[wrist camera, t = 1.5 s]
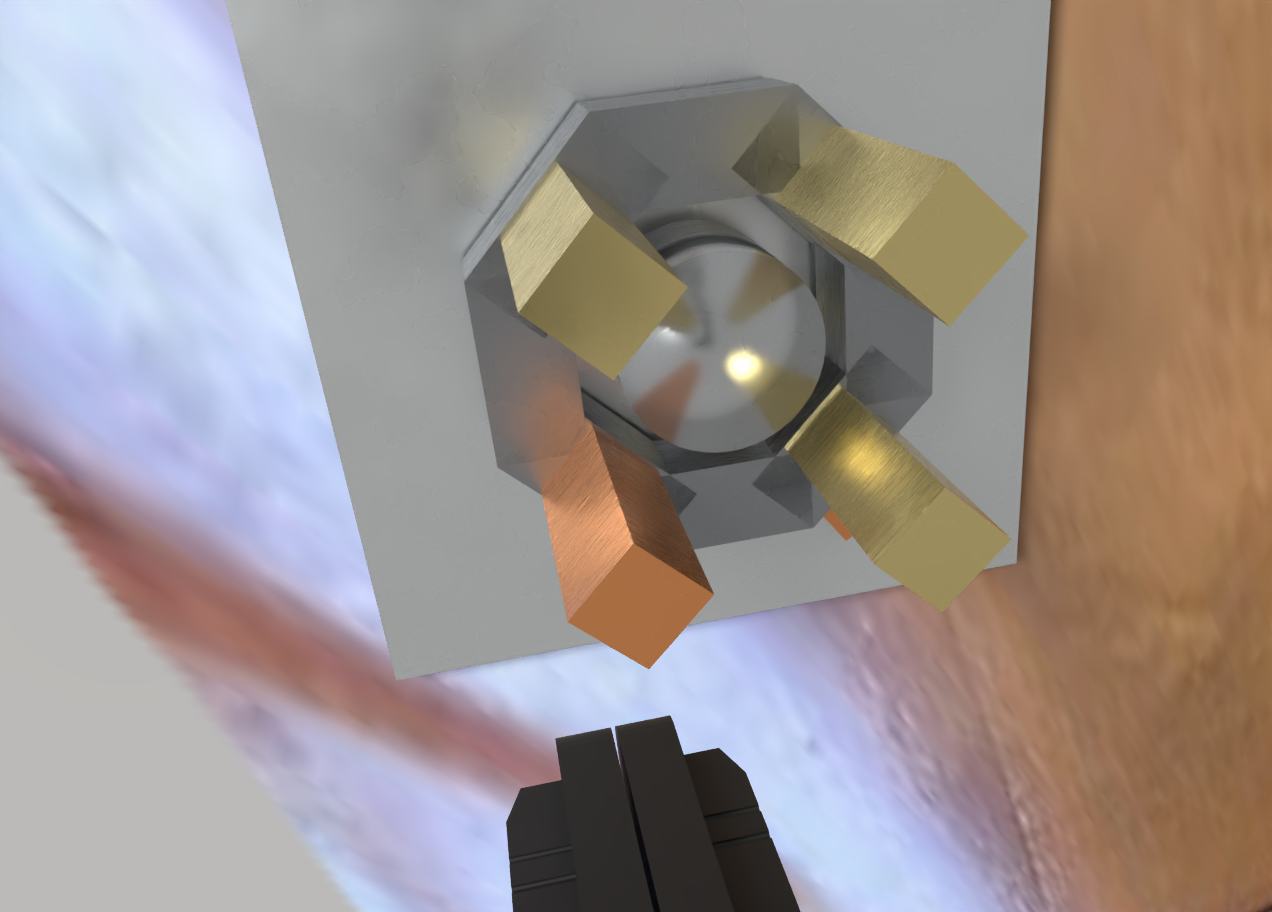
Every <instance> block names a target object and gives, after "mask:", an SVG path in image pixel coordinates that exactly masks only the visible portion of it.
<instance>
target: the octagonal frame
mask: <svg viewBox="0 0 1272 912" xmlns="http://www.w3.org/2000/svg"><path fill="white" fill-rule="evenodd" d="M755 195H756V196H757V197H758V198H759V199H760V200H762V201H763V202H764V203H765V204H766V205H767V206H769V207H770V208H771V209H772V210H773V211H774V212H776V213H777V214H778V215H779V216H780V217H781V218H783V219H784V220H785V221H786V222H787V223H788V224H790V225H791V226H792V227H793V228H794V229H796V230H797V231H798V232H799V233H800V234H801V235H803V236H804V237H805V238H806V239H807V240H808V241H810V242H811V243H812V244H813V245H814V246H815V276H816V301H817V303H818V306H819V309H820V311H821V314H822V318H823V322H824V326H825V337H826V346H825V357H824V363H823V367H822V371H821V374H820V377H819V380H818V382H817V384H816V387H815V389H814V391H813V393H812V394H811V396H810V398H809V399H808V401H807V402H806V404H805V405H804V406H803V408H802V409H801V410H800V412H799V413H798V414H797V415H796V416H795V417H794V418H793V419H792V420H791V421H790V422H789V423H788V424H787V425H785V426H784V427H783V428H782V429H781V430H779V431H778V432H776V433H775V434H773V435H772V436H770V437H769V438H767V439H765V440H763V441H761V442H759V443H757V444H754V445H751V446H749V447H746V448H743V449H738V450H734V451H728V452H719V453H713V452H699V451H692V450H689V449H685V448H681V447H679V446H676V445H674V444H672V443H669V442H668V441H666V440H659V441H652V440H651V439H649V438H648V437H647V436H645V435H644V434H642V433H641V432H639V431H638V430H636V429H635V428H634V427H632V426H631V425H629V424H628V423H626V422H625V421H623V420H622V419H621V418H619V417H618V416H616V415H615V414H613V413H612V412H610V411H609V410H608V409H606V408H605V407H603V406H602V405H600V404H599V403H597V402H596V401H594V400H593V399H592V398H590V397H589V396H587V395H586V394H584V393H583V392H581V389H580V381H579V374H578V367H577V359H576V354H577V355H578V356H580V357H581V358H583V359H584V360H585V361H587V362H588V363H590V364H591V365H593V366H594V367H595V368H597V369H598V370H600V371H601V372H602V373H604V374H605V375H607V376H608V377H609V378H611V379H612V380H615V378H616V377H617V376H618V375H619V373H620V372H621V371H622V370H623V368H624V367H625V366H626V365H627V363H628V362H629V361H630V359H631V358H632V357H633V356H634V354H635V353H636V352H637V351H638V349H639V348H640V347H641V346H642V344H643V343H644V342H645V341H646V339H647V338H648V337H649V336H650V334H651V333H652V332H653V331H654V329H655V328H656V327H657V326H658V324H659V323H660V322H661V321H662V319H663V318H664V317H665V316H666V314H667V313H668V312H669V311H670V309H671V308H672V307H673V306H674V304H675V303H676V302H677V301H678V299H679V298H680V297H681V296H682V294H683V293H684V292H685V291H686V289H687V288H688V286H687V285H686V284H685V283H684V282H683V281H682V279H681V278H680V277H679V276H678V275H677V274H676V272H675V271H674V270H673V269H672V268H671V267H670V265H669V264H668V263H667V262H666V261H665V260H664V258H663V257H662V256H661V255H660V254H659V253H658V251H657V250H656V249H655V248H654V247H653V246H652V244H651V243H650V242H649V241H648V240H647V239H646V237H645V236H644V235H643V234H642V233H641V232H640V230H639V229H638V228H637V227H636V226H635V225H634V223H635V221H636V220H637V219H638V217H639V216H640V215H641V213H642V212H643V211H650V210H657V209H664V208H671V207H678V206H685V205H692V204H699V203H706V202H713V201H720V200H727V199H734V198H741V197H748V196H755ZM1028 237H1029V235H1028V234H1027V233H1026V232H1025V231H1024V230H1023V229H1022V228H1021V227H1020V226H1019V225H1018V224H1017V223H1016V222H1015V221H1014V220H1013V219H1012V218H1011V217H1010V216H1009V215H1008V214H1007V213H1006V212H1005V211H1004V210H1003V209H1001V208H1000V207H999V206H998V205H997V204H996V203H995V202H994V201H993V200H992V199H991V198H990V197H989V196H988V195H987V194H986V193H985V192H984V191H983V190H982V189H981V188H980V187H979V186H978V185H977V184H976V183H975V182H974V181H973V180H971V179H970V178H969V177H968V176H967V175H966V174H965V173H964V172H963V171H962V170H961V169H960V168H959V167H958V166H957V165H956V164H955V163H954V162H951V161H948V160H945V159H941V158H938V157H935V156H932V155H929V154H926V153H923V152H919V151H916V150H913V149H910V148H907V147H904V146H901V145H897V144H894V143H891V142H888V141H885V140H882V139H878V138H875V137H872V136H869V135H866V134H863V133H860V132H856V131H853V130H850V129H847V128H844V127H843V126H842V125H841V124H840V123H839V122H837V121H836V120H835V119H834V118H833V117H832V116H831V115H830V114H829V113H828V112H827V111H826V110H825V109H823V108H822V107H821V106H820V105H819V104H818V103H817V102H816V101H815V100H814V99H813V98H812V97H811V96H809V95H808V94H807V93H806V92H805V91H804V90H803V89H802V88H801V87H800V86H799V85H798V84H794V83H790V82H785V81H781V80H777V79H773V78H763V79H755V80H747V81H739V82H732V83H724V84H716V85H708V86H701V87H693V88H685V89H677V90H670V91H662V92H654V93H646V94H639V95H631V96H623V97H615V98H608V99H600V100H592V101H584V102H577V103H576V105H575V106H574V108H573V109H572V110H571V112H570V113H569V114H568V116H567V117H566V119H565V120H564V121H563V123H562V124H561V125H560V127H559V128H558V129H557V131H556V132H555V134H554V135H553V136H552V138H551V139H550V140H549V142H548V143H547V145H546V146H545V147H544V149H543V150H542V151H541V153H540V154H539V155H538V157H537V158H536V160H535V161H534V162H533V164H532V165H531V166H530V168H529V169H528V171H527V172H526V173H525V175H524V176H523V177H522V179H521V180H520V181H519V183H518V184H517V186H516V187H515V188H514V190H513V191H512V192H511V194H510V195H509V197H508V198H507V199H506V201H505V202H504V203H503V205H502V206H501V207H500V209H499V210H498V212H497V213H496V214H495V216H494V217H493V218H492V220H491V221H490V223H489V224H488V225H487V227H486V228H485V229H484V231H483V232H482V234H481V235H480V236H479V238H478V239H477V240H476V242H475V243H474V244H473V246H472V247H471V249H470V250H469V251H468V253H467V254H466V255H465V257H464V258H463V260H462V264H463V277H464V285H465V291H466V296H467V302H468V307H469V313H470V318H471V324H472V329H473V335H474V340H475V346H476V352H477V357H478V363H479V368H480V374H481V379H482V385H483V390H484V396H485V401H486V407H487V413H488V418H489V424H490V429H491V435H492V440H493V446H494V451H495V457H496V462H497V467H498V468H499V469H501V470H502V471H504V472H505V473H507V474H509V475H510V476H512V477H513V478H515V479H517V480H518V481H520V482H521V483H523V484H524V485H526V486H528V487H529V488H531V489H532V490H534V491H536V492H537V493H539V494H540V495H542V498H543V503H544V508H545V513H546V518H547V523H548V528H549V533H550V538H551V543H552V548H553V553H554V558H555V563H556V568H557V573H558V578H559V583H560V588H561V593H562V598H563V603H564V608H565V613H566V618H567V622H568V623H570V624H572V625H573V626H575V627H577V628H579V629H580V630H582V631H584V632H585V633H587V634H589V635H591V636H592V637H594V638H596V639H598V640H599V641H601V642H603V643H604V644H606V645H608V646H610V647H611V648H613V649H615V650H617V651H618V652H620V653H622V654H623V655H625V656H627V657H629V658H630V659H632V660H634V661H636V662H637V663H639V664H641V665H642V666H644V667H646V668H648V669H650V668H651V666H652V665H653V664H654V663H655V662H656V661H657V660H658V658H659V657H660V656H661V655H662V654H663V653H664V652H665V650H666V649H667V648H668V647H669V646H670V645H671V644H672V642H673V641H674V640H675V639H676V638H677V637H678V636H679V634H680V633H681V632H682V631H683V630H684V629H685V628H686V626H687V625H688V624H689V623H690V622H691V621H692V620H693V618H694V617H695V616H696V615H697V614H698V613H699V612H700V611H701V609H702V608H703V607H704V606H705V605H706V604H707V603H708V601H709V600H710V599H711V598H712V597H713V596H714V593H713V590H712V588H711V586H710V584H709V582H708V579H707V577H706V575H705V573H704V571H703V569H702V566H701V564H700V562H699V560H698V558H697V555H696V553H695V551H694V549H700V548H705V547H711V546H716V545H722V544H727V543H733V542H738V541H744V540H749V539H755V538H761V537H766V536H772V535H777V534H783V533H788V532H794V531H799V530H805V529H810V528H814V527H815V526H816V525H817V523H818V522H819V521H820V520H821V519H822V518H823V517H824V516H825V514H826V513H827V512H828V511H829V510H830V509H832V510H833V511H834V512H835V514H836V515H837V516H838V518H839V519H840V520H841V522H842V523H843V524H844V526H845V527H846V528H847V529H848V531H849V532H850V533H851V535H852V536H853V537H854V539H855V540H856V541H857V543H858V544H859V545H860V546H861V548H862V549H863V550H864V552H865V553H866V554H867V556H868V557H869V558H870V560H871V561H872V562H873V563H874V565H876V566H877V567H878V568H880V569H881V570H883V571H884V572H885V573H887V574H888V575H890V576H891V577H893V578H894V579H895V580H897V581H898V582H900V583H901V584H902V585H904V586H905V587H907V588H908V589H909V590H911V591H912V592H914V593H915V594H917V595H918V596H919V597H921V598H922V599H924V600H925V601H926V602H928V603H929V604H931V605H932V606H934V607H935V608H936V609H938V610H939V611H941V612H943V611H944V610H945V609H946V608H947V607H948V606H949V605H950V604H951V603H952V602H953V601H954V600H955V599H956V598H957V597H958V595H959V594H960V593H961V592H962V591H963V590H964V589H965V588H966V587H967V586H968V585H969V584H970V583H971V582H972V581H973V580H974V579H975V578H976V576H977V575H978V574H979V573H980V572H981V571H982V570H983V569H984V568H985V567H986V566H987V565H988V564H989V563H990V562H991V561H992V560H993V559H994V558H995V556H996V555H997V554H998V553H999V552H1000V551H1001V550H1002V549H1003V548H1004V547H1005V546H1006V545H1007V544H1008V543H1009V542H1010V541H1011V540H1012V539H1011V538H1010V537H1009V536H1008V535H1007V534H1006V533H1005V532H1004V531H1003V530H1002V529H1001V528H999V527H998V526H997V525H996V524H995V523H994V522H993V521H992V520H991V519H990V518H989V517H988V516H987V515H986V514H985V513H984V512H983V511H982V510H980V509H979V508H978V507H977V506H976V505H975V504H974V503H973V502H972V501H971V500H970V499H969V498H968V497H967V496H966V495H965V494H964V493H963V492H961V491H960V490H959V489H958V488H957V487H956V486H955V485H954V484H953V483H952V482H951V481H950V480H949V479H948V478H947V477H946V476H945V475H944V474H942V473H941V472H940V471H939V470H938V469H937V468H936V467H935V466H934V465H933V464H932V463H931V462H930V461H929V460H928V459H927V458H926V457H924V456H923V455H922V454H921V453H920V452H919V451H918V450H917V449H916V448H915V447H914V446H913V445H912V444H911V443H910V442H909V441H908V440H907V439H905V438H904V437H903V436H902V435H901V434H900V433H899V431H900V430H901V429H902V428H903V427H904V426H905V425H906V423H907V422H908V421H909V420H910V419H911V418H912V417H913V416H914V414H915V413H916V412H917V411H918V410H919V409H920V408H921V407H922V405H923V404H924V403H925V402H926V401H927V400H928V399H929V398H930V396H931V395H932V381H933V328H934V317H935V318H937V319H938V320H940V321H942V322H943V323H945V324H946V325H948V326H949V327H950V326H951V324H952V323H953V322H954V321H955V320H956V319H957V318H958V316H959V315H960V314H961V313H962V312H963V311H964V310H965V309H966V307H967V306H968V305H969V304H970V303H971V302H972V301H973V299H974V298H975V297H976V296H977V295H978V294H979V293H980V291H981V290H982V289H983V288H984V287H985V286H986V285H987V283H988V282H989V281H990V280H991V279H992V278H993V277H994V275H995V274H996V273H997V272H998V271H999V270H1000V269H1001V267H1002V266H1003V265H1004V264H1005V263H1006V262H1007V261H1008V259H1009V258H1010V257H1011V256H1012V255H1013V254H1014V253H1015V252H1016V250H1017V249H1018V248H1019V247H1020V246H1021V245H1022V244H1023V242H1024V241H1025V240H1026V239H1027V238H1028Z"/></svg>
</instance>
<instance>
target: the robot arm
mask: <svg viewBox="0 0 1272 912" xmlns="http://www.w3.org/2000/svg"><path fill="white" fill-rule="evenodd" d="M615 732H616V740H617V747H618V754H619V760H618V755H617V751H616V747H615V742H614V738H613V734H612V730H611V728H606V729H601V730H596V731H591V732H586V733H581V734H576V735H571V736H566V737H561V738H556V746H557V752H558V759H559V766H560V772H561V779H562V780H560V781H555V782H550V783H545V784H540V785H536V786H531V787H526V788H521V789H520V791H519V794H518V796H517V798H516V801H515V803H514V805H513V808H512V810H511V812H510V815H509V817H508V820H507V822H506V825H507V838H508V851H509V860H510V877H511V888H512V903H513V912H800V909H799V907H798V904H797V901H796V899H795V896H794V894H793V891H792V889H791V886H790V884H789V881H788V879H787V876H786V873H785V871H784V868H783V866H782V863H781V861H780V858H779V856H778V853H777V851H776V848H775V846H774V843H773V840H772V838H770V835H769V830H768V828H767V825H766V823H765V820H764V818H763V815H762V813H761V811H760V810H759V806H758V802H757V800H756V797H755V795H754V792H753V790H752V787H751V785H750V782H749V780H748V777H747V774H746V772H745V771H744V770H742V769H741V768H740V767H739V766H738V765H737V764H736V763H735V762H734V761H733V760H731V759H730V758H729V757H728V756H727V755H726V754H725V753H724V752H723V751H722V750H721V749H719V748H716V749H711V750H706V751H701V752H696V753H691V754H686V755H684V754H683V751H682V748H681V745H680V742H679V739H678V736H677V732H676V729H675V726H674V723H673V720H672V718H671V716H665V717H660V718H655V719H650V720H645V721H640V722H635V723H630V724H625V725H620V726H615ZM619 761H620V764H619Z"/></svg>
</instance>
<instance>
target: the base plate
mask: <svg viewBox="0 0 1272 912" xmlns="http://www.w3.org/2000/svg"><path fill="white" fill-rule="evenodd" d="M225 1H226V5H227V9H228V13H229V17H230V21H231V25H232V29H233V33H234V37H235V41H236V44H237V48H238V52H239V56H240V60H241V64H242V68H243V72H244V76H245V80H246V84H247V88H248V92H249V96H250V100H251V104H252V108H253V112H254V116H255V120H256V124H257V128H258V132H259V136H260V140H261V144H262V148H263V152H264V156H265V160H266V164H267V168H268V172H269V176H270V180H271V184H272V188H273V192H274V196H275V200H276V204H277V208H278V212H279V216H280V220H281V224H282V228H283V232H284V235H285V239H286V243H287V247H288V251H289V255H290V259H291V263H292V267H293V271H294V275H295V279H296V283H297V287H298V291H299V295H300V299H301V303H302V307H303V311H304V315H305V319H306V323H307V327H308V331H309V335H310V339H311V343H312V347H313V351H314V355H315V359H316V363H317V367H318V371H319V375H320V379H321V383H322V387H323V391H324V395H325V399H326V403H327V407H328V411H329V415H330V419H331V422H332V426H333V430H334V434H335V438H336V442H337V446H338V450H339V454H340V458H341V462H342V466H343V470H344V474H345V478H346V482H347V486H348V490H349V494H350V498H351V502H352V506H353V510H354V514H355V518H356V522H357V526H358V530H359V534H360V538H361V542H362V546H363V550H364V554H365V558H366V562H367V566H368V570H369V574H370V578H371V582H372V586H373V590H374V594H375V598H376V602H377V606H378V610H379V613H380V617H381V621H382V625H383V629H384V633H385V637H386V641H387V645H388V649H389V653H390V657H391V661H392V665H393V669H394V673H395V677H396V680H401V679H407V678H412V677H417V676H423V675H428V674H433V673H439V672H444V671H449V670H454V669H460V668H465V667H470V666H476V665H481V664H486V663H491V662H497V661H502V660H507V659H513V658H518V657H523V656H528V655H534V654H539V653H544V652H550V651H555V650H560V649H565V648H571V647H576V646H581V645H587V644H592V643H597V642H601V641H599V640H598V639H596V638H594V637H592V636H591V635H589V634H587V633H585V632H584V631H582V630H580V629H579V628H577V627H575V626H573V625H572V624H570V623H568V622H567V618H566V613H565V608H564V603H563V598H562V593H561V588H560V583H559V578H558V573H557V568H556V563H555V558H554V553H553V548H552V543H551V538H550V533H549V528H548V523H547V518H546V513H545V508H544V503H543V498H542V495H540V494H539V493H537V492H536V491H534V490H532V489H531V488H529V487H528V486H526V485H524V484H523V483H521V482H520V481H518V480H517V479H515V478H513V477H512V476H510V475H509V474H507V473H505V472H504V471H502V470H501V469H499V468H498V467H497V462H496V457H495V451H494V446H493V440H492V435H491V429H490V424H489V418H488V413H487V407H486V401H485V396H484V390H483V385H482V379H481V374H480V368H479V363H478V357H477V352H476V346H475V340H474V335H473V329H472V324H471V318H470V313H469V307H468V302H467V296H466V291H465V285H464V277H463V264H462V260H463V258H464V257H465V255H466V254H467V253H468V251H469V250H470V249H471V247H472V246H473V244H474V243H475V242H476V240H477V239H478V238H479V236H480V235H481V234H482V232H483V231H484V229H485V228H486V227H487V225H488V224H489V223H490V221H491V220H492V218H493V217H494V216H495V214H496V213H497V212H498V210H499V209H500V207H501V206H502V205H503V203H504V202H505V201H506V199H507V198H508V197H509V195H510V194H511V192H512V191H513V190H514V188H515V187H516V186H517V184H518V183H519V181H520V180H521V179H522V177H523V176H524V175H525V173H526V172H527V171H528V169H529V168H530V166H531V165H532V164H533V162H534V161H535V160H536V158H537V157H538V155H539V154H540V153H541V151H542V150H543V149H544V147H545V146H546V145H547V143H548V142H549V140H550V139H551V138H552V136H553V135H554V134H555V132H556V131H557V129H558V128H559V127H560V125H561V124H562V123H563V121H564V120H565V119H566V117H567V116H568V114H569V113H570V112H571V110H572V109H573V108H574V106H575V105H576V103H577V102H584V101H592V100H600V99H608V98H615V97H623V96H631V95H639V94H646V93H654V92H662V91H670V90H677V89H685V88H693V87H701V86H708V85H716V84H724V83H732V82H739V81H747V80H755V79H763V78H773V79H777V80H781V81H785V82H790V83H794V84H798V85H799V86H800V87H801V88H802V89H803V90H804V91H805V92H806V93H807V94H808V95H809V96H811V97H812V98H813V99H814V100H815V101H816V102H817V103H818V104H819V105H820V106H821V107H822V108H823V109H825V110H826V111H827V112H828V113H829V114H830V115H831V116H832V117H833V118H834V119H835V120H836V121H837V122H839V123H840V124H841V125H842V126H843V127H844V128H847V129H850V130H853V131H856V132H860V133H863V134H866V135H869V136H872V137H875V138H878V139H882V140H885V141H888V142H891V143H894V144H897V145H901V146H904V147H907V148H910V149H913V150H916V151H919V152H923V153H926V154H929V155H932V156H935V157H938V158H941V159H945V160H948V161H951V162H954V163H955V164H956V165H957V166H958V167H959V168H960V169H961V170H962V171H963V172H964V173H965V174H966V175H967V176H968V177H969V178H970V179H971V180H973V181H974V182H975V183H976V184H977V185H978V186H979V187H980V188H981V189H982V190H983V191H984V192H985V193H986V194H987V195H988V196H989V197H990V198H991V199H992V200H993V201H994V202H995V203H996V204H997V205H998V206H999V207H1000V208H1001V209H1003V210H1004V211H1005V212H1006V213H1007V214H1008V215H1009V216H1010V217H1011V218H1012V219H1013V220H1014V221H1015V222H1016V223H1017V224H1018V225H1019V226H1020V227H1021V228H1022V229H1023V230H1024V231H1025V232H1026V233H1027V234H1028V235H1029V237H1028V238H1027V239H1026V240H1025V241H1024V242H1023V244H1022V245H1021V246H1020V247H1019V248H1018V249H1017V250H1016V252H1015V253H1014V254H1013V255H1012V256H1011V257H1010V258H1009V259H1008V261H1007V262H1006V263H1005V264H1004V265H1003V266H1002V267H1001V269H1000V270H999V271H998V272H997V273H996V274H995V275H994V277H993V278H992V279H991V280H990V281H989V282H988V283H987V285H986V286H985V287H984V288H983V289H982V290H981V291H980V293H979V294H978V295H977V296H976V297H975V298H974V299H973V301H972V302H971V303H970V304H969V305H968V306H967V307H966V309H965V310H964V311H963V312H962V313H961V314H960V315H959V316H958V318H957V319H956V320H955V321H954V322H953V323H952V324H951V326H950V327H949V326H948V325H946V324H945V323H943V322H942V321H940V320H938V319H937V318H935V317H934V328H933V381H932V395H931V396H930V398H929V399H928V400H927V401H926V402H925V403H924V404H923V405H922V407H921V408H920V409H919V410H918V411H917V412H916V413H915V414H914V416H913V417H912V418H911V419H910V420H909V421H908V422H907V423H906V425H905V426H904V427H903V428H902V429H901V430H900V431H899V433H900V434H901V435H902V436H903V437H904V438H905V439H907V440H908V441H909V442H910V443H911V444H912V445H913V446H914V447H915V448H916V449H917V450H918V451H919V452H920V453H921V454H922V455H923V456H924V457H926V458H927V459H928V460H929V461H930V462H931V463H932V464H933V465H934V466H935V467H936V468H937V469H938V470H939V471H940V472H941V473H942V474H944V475H945V476H946V477H947V478H948V479H949V480H950V481H951V482H952V483H953V484H954V485H955V486H956V487H957V488H958V489H959V490H960V491H961V492H963V493H964V494H965V495H966V496H967V497H968V498H969V499H970V500H971V501H972V502H973V503H974V504H975V505H976V506H977V507H978V508H979V509H980V510H982V511H983V512H984V513H985V514H986V515H987V516H988V517H989V518H990V519H991V520H992V521H993V522H994V523H995V524H996V525H997V526H998V527H999V528H1001V529H1002V530H1003V531H1004V532H1005V533H1006V534H1007V535H1008V536H1009V537H1010V538H1011V539H1012V540H1011V541H1010V542H1009V543H1008V544H1007V545H1006V546H1005V547H1004V548H1003V549H1002V550H1001V551H1000V552H999V553H998V554H997V555H996V556H995V558H994V559H993V560H992V561H991V562H990V563H989V564H988V565H987V566H986V567H985V568H984V569H989V568H994V567H999V566H1004V565H1010V564H1015V563H1017V547H1018V530H1019V514H1020V497H1021V481H1022V464H1023V448H1024V432H1025V415H1026V399H1027V382H1028V366H1029V350H1030V333H1031V317H1032V300H1033V284H1034V267H1035V251H1036V235H1037V218H1038V202H1039V185H1040V169H1041V153H1042V136H1043V120H1044V103H1045V87H1046V70H1047V54H1048V38H1049V21H1050V5H1051V0H225ZM634 225H635V226H636V227H637V228H638V229H639V230H640V232H641V233H642V234H643V235H644V236H645V237H646V239H647V240H648V241H649V242H650V243H651V244H652V246H653V247H654V248H655V249H656V250H657V251H658V253H659V254H660V255H661V256H662V257H663V258H664V260H665V261H666V262H667V263H668V264H669V265H670V267H671V268H672V269H673V270H674V271H675V272H676V274H677V275H678V276H679V277H680V278H681V279H682V281H683V282H684V283H685V284H686V285H687V286H688V288H687V289H686V291H685V292H684V293H683V294H682V296H681V297H680V298H679V299H678V301H677V302H676V303H675V304H674V306H673V307H672V308H671V309H670V311H669V312H668V313H667V314H666V316H665V317H664V318H663V319H662V321H661V322H660V323H659V324H658V326H657V327H656V328H655V329H654V331H653V332H652V333H651V334H650V336H649V337H648V338H647V339H646V341H645V342H644V343H643V344H642V346H641V347H640V348H639V349H638V351H637V352H636V353H635V354H634V356H633V357H632V358H631V359H630V361H629V362H628V363H627V365H626V366H625V367H624V368H623V370H622V371H621V372H620V373H619V375H618V376H617V377H616V378H615V380H612V379H611V378H609V377H608V376H607V375H605V374H604V373H602V372H601V371H600V370H598V369H597V368H595V367H594V366H593V365H591V364H590V363H588V362H587V361H585V360H584V359H583V358H581V357H580V356H578V355H577V354H576V359H577V367H578V374H579V381H580V389H581V392H583V393H584V394H586V395H587V396H589V397H590V398H592V399H593V400H594V401H596V402H597V403H599V404H600V405H602V406H603V407H605V408H606V409H608V410H609V411H610V412H612V413H613V414H615V415H616V416H618V417H619V418H621V419H622V420H623V421H625V422H626V423H628V424H629V425H631V426H632V427H634V428H635V429H636V430H638V431H639V432H641V433H642V434H644V435H645V436H647V437H648V438H649V439H651V440H652V441H659V440H666V441H668V442H669V443H672V444H674V445H676V446H679V447H681V448H685V449H689V450H692V451H699V452H713V453H719V452H728V451H734V450H738V449H743V448H746V447H749V446H751V445H754V444H757V443H759V442H761V441H763V440H765V439H767V438H769V437H770V436H772V435H773V434H775V433H776V432H778V431H779V430H781V429H782V428H783V427H784V426H785V425H787V424H788V423H789V422H790V421H791V420H792V419H793V418H794V417H795V416H796V415H797V414H798V413H799V412H800V410H801V409H802V408H803V406H804V405H805V404H806V402H807V401H808V399H809V398H810V396H811V394H812V393H813V391H814V389H815V387H816V384H817V382H818V380H819V377H820V374H821V371H822V367H823V363H824V357H825V346H826V337H825V326H824V322H823V318H822V314H821V311H820V309H819V306H818V303H817V301H816V276H815V246H814V245H813V244H812V243H811V242H810V241H808V240H807V239H806V238H805V237H804V236H803V235H801V234H800V233H799V232H798V231H797V230H796V229H794V228H793V227H792V226H791V225H790V224H788V223H787V222H786V221H785V220H784V219H783V218H781V217H780V216H779V215H778V214H777V213H776V212H774V211H773V210H772V209H771V208H770V207H769V206H767V205H766V204H765V203H764V202H763V201H762V200H760V199H759V198H758V197H757V196H756V195H755V196H748V197H741V198H734V199H727V200H720V201H713V202H706V203H699V204H692V205H685V206H678V207H671V208H664V209H657V210H650V211H643V212H642V213H641V215H640V216H639V217H638V219H637V220H636V221H635V223H634ZM694 551H695V553H696V555H697V558H698V560H699V562H700V564H701V566H702V569H703V571H704V573H705V575H706V577H707V579H708V582H709V584H710V586H711V588H712V590H713V593H714V596H713V597H712V598H711V599H710V600H709V601H708V603H707V604H706V605H705V606H704V607H703V608H702V609H701V611H700V612H699V613H698V614H697V615H696V616H695V617H694V618H693V620H692V621H691V622H690V623H689V624H688V625H692V624H698V623H703V622H708V621H714V620H719V619H724V618H729V617H735V616H740V615H745V614H751V613H756V612H761V611H766V610H772V609H777V608H782V607H788V606H793V605H798V604H803V603H809V602H814V601H819V600H825V599H830V598H835V597H840V596H846V595H851V594H856V593H862V592H867V591H872V590H877V589H883V588H888V587H893V586H899V585H902V584H901V583H900V582H898V581H897V580H895V579H894V578H893V577H891V576H890V575H888V574H887V573H885V572H884V571H883V570H881V569H880V568H878V567H877V566H876V565H874V563H873V562H872V561H871V560H870V558H869V557H868V556H867V554H866V553H865V552H864V550H863V549H862V548H861V546H860V545H859V544H858V543H857V541H856V540H855V539H854V537H853V536H852V535H851V533H850V532H849V531H848V529H847V528H846V527H845V526H844V524H843V523H842V522H841V520H840V519H839V518H838V516H837V515H836V514H835V512H834V511H833V510H832V509H830V510H829V511H828V512H827V513H826V514H825V516H824V517H823V518H822V519H821V520H820V521H819V522H818V523H817V525H816V526H815V527H814V528H810V529H805V530H799V531H794V532H788V533H783V534H777V535H772V536H766V537H761V538H755V539H749V540H744V541H738V542H733V543H727V544H722V545H716V546H711V547H705V548H700V549H694Z"/></svg>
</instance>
